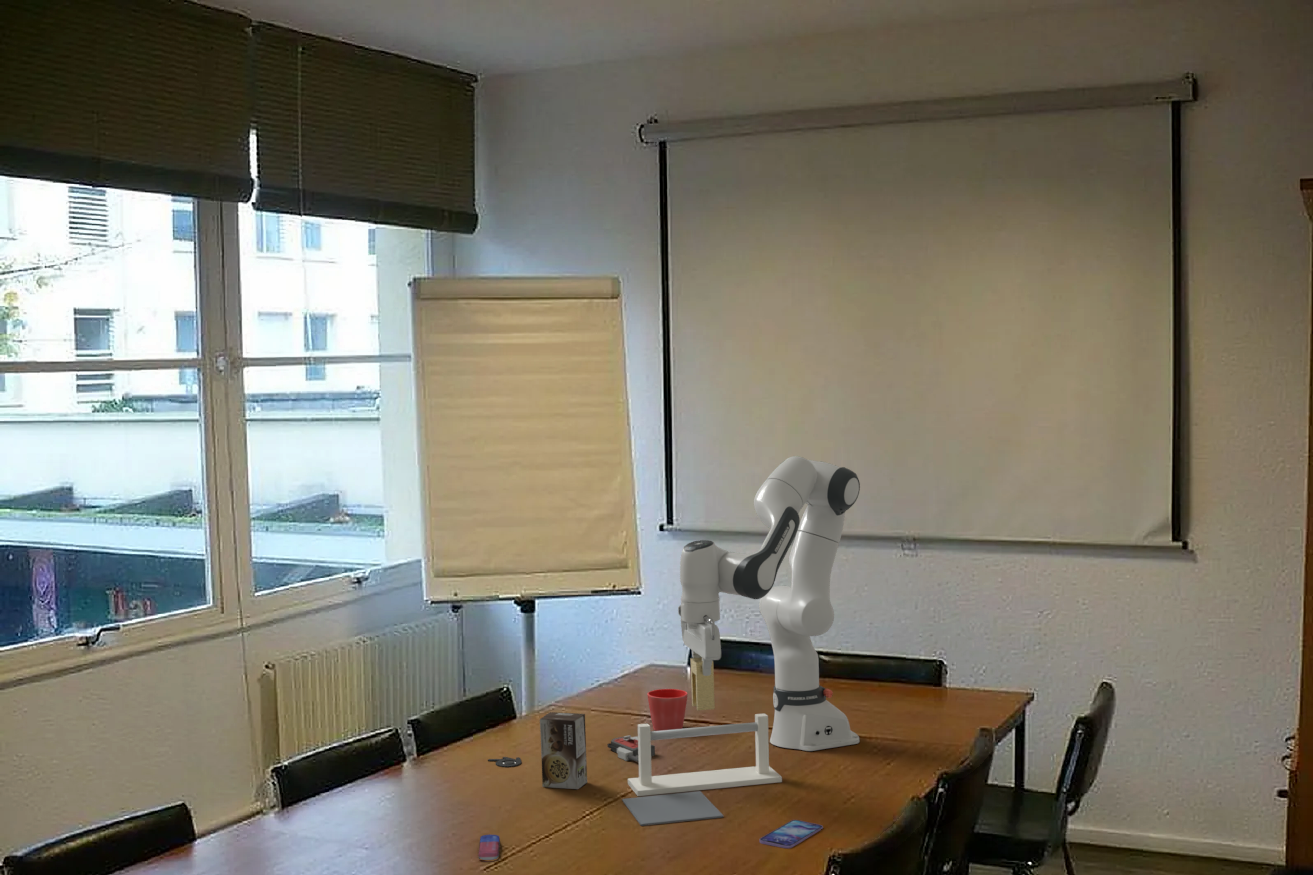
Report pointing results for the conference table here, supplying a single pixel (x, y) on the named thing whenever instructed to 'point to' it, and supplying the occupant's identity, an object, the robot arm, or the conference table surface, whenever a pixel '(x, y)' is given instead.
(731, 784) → the rod stand
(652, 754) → the walkie-talkie
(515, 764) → the dark grey flat piece
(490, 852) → the eraser
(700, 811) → the rubber mat
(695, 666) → the c-link
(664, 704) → the flower pot
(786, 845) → the smartphone
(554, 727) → the coffee box
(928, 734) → the conference table surface
